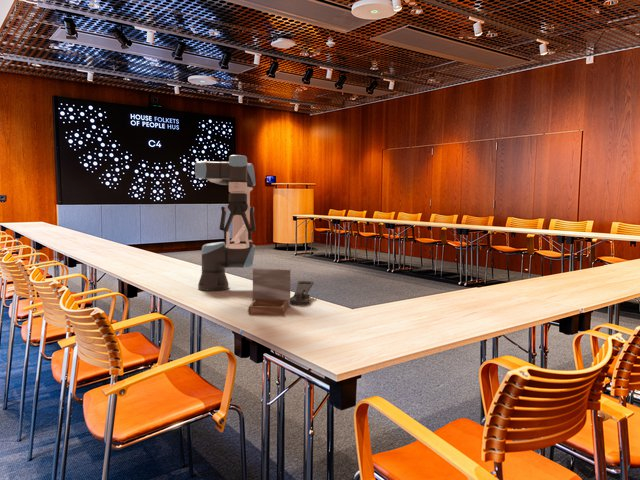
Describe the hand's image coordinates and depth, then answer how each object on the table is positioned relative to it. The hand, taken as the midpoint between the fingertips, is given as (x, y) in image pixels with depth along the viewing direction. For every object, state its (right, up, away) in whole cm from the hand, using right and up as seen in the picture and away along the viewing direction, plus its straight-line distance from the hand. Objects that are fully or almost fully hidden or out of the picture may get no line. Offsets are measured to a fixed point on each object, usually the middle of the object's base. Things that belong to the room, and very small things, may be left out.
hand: (237, 247), depth 201 cm
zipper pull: (+26, -25, +20) cm, 41 cm away
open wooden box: (+13, -26, -1) cm, 29 cm away
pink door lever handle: (0, 0, 0) cm, 0 cm away
